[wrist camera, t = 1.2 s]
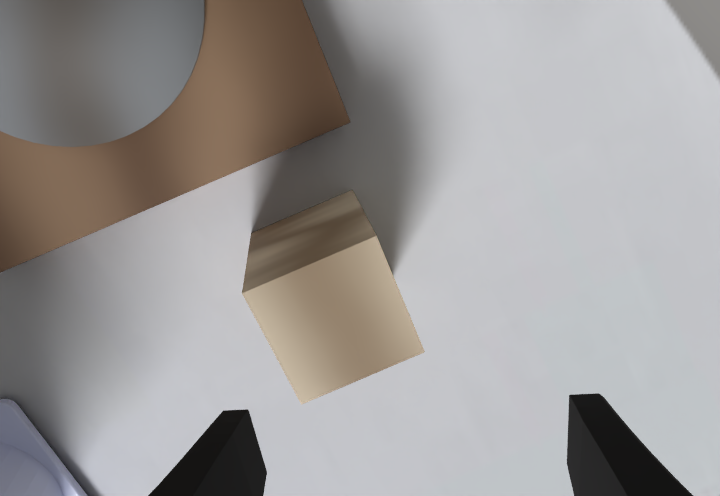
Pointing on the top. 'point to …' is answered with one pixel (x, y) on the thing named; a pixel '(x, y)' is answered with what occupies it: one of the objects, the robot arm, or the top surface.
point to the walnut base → (144, 106)
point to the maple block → (327, 298)
